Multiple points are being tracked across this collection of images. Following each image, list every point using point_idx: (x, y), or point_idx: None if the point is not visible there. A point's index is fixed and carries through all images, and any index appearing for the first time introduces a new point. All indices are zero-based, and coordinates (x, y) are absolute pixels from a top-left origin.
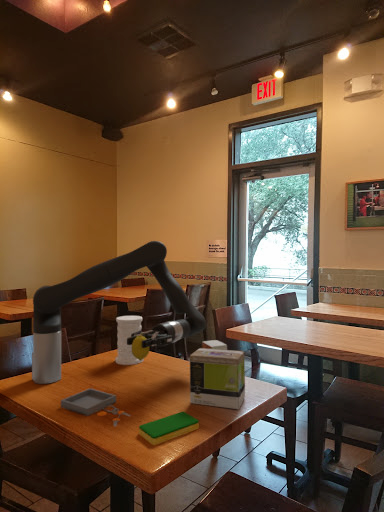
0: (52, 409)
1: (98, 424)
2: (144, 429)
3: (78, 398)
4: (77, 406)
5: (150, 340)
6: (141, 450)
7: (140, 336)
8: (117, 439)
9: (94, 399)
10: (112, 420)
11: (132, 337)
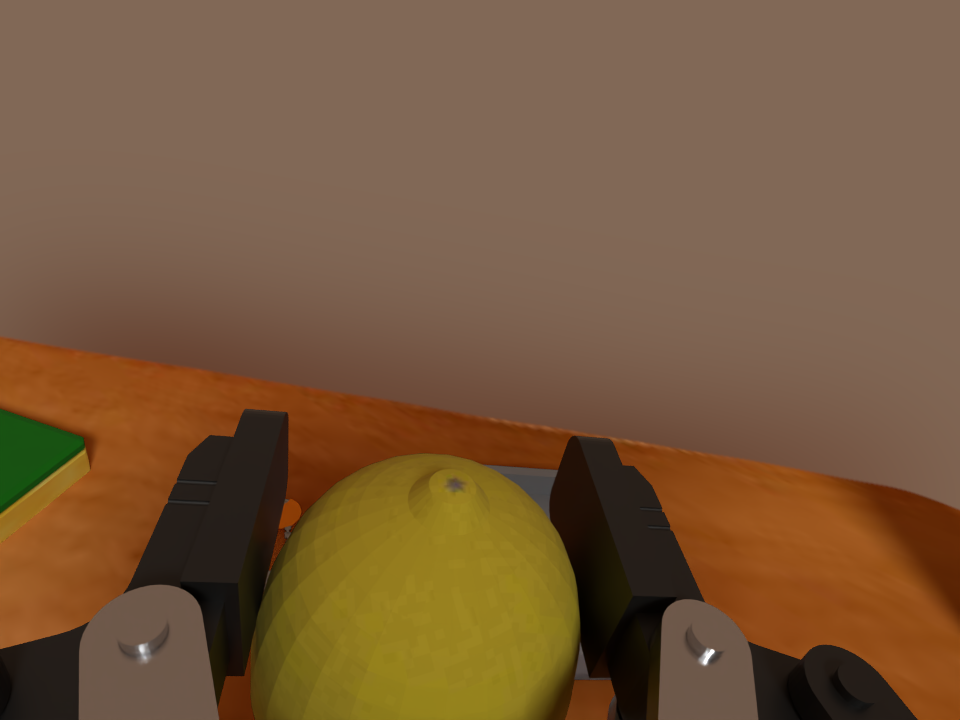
0: None
1: (332, 458)
2: (40, 425)
3: None
4: (509, 469)
5: (173, 555)
6: (31, 391)
7: (427, 477)
8: (174, 411)
9: None
10: (296, 502)
11: (598, 500)
